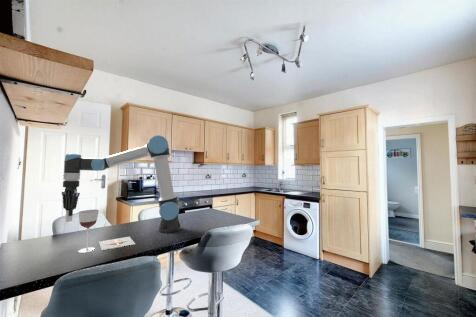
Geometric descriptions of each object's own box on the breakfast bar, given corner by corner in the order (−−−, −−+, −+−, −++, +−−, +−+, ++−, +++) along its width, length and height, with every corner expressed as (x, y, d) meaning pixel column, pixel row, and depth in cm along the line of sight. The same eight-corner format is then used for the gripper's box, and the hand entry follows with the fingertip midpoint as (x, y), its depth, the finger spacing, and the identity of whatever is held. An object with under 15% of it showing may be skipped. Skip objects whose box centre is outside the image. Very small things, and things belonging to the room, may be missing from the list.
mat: (129, 237, 132) (129, 236, 132) (135, 244, 119) (135, 243, 119) (98, 242, 122) (98, 241, 122) (101, 250, 109) (101, 249, 109)
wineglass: (72, 251, 108) (74, 212, 109) (89, 246, 116) (91, 209, 117) (84, 253, 105) (86, 213, 106) (100, 247, 113) (102, 210, 115)
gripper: (57, 180, 122) (54, 221, 121) (71, 180, 117) (68, 224, 116) (71, 179, 129) (68, 218, 128) (85, 180, 124) (82, 221, 123)
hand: (68, 221), depth 122 cm, fingers closed
